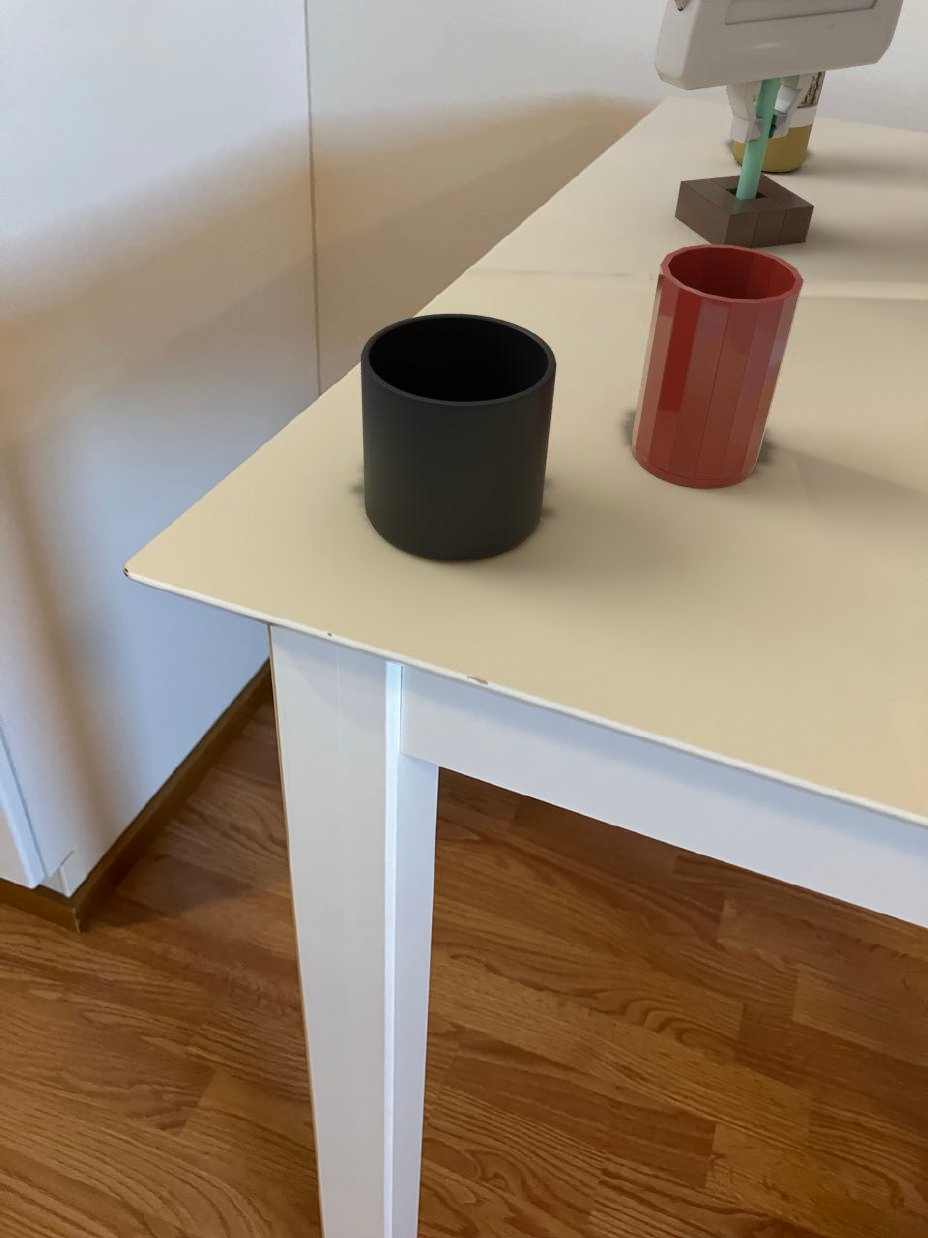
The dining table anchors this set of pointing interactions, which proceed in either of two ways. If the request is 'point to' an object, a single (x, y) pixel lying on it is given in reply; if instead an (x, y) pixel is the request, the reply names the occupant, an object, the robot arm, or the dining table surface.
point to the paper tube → (790, 134)
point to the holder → (743, 213)
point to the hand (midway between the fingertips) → (758, 138)
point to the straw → (757, 148)
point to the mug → (455, 433)
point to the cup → (713, 363)
